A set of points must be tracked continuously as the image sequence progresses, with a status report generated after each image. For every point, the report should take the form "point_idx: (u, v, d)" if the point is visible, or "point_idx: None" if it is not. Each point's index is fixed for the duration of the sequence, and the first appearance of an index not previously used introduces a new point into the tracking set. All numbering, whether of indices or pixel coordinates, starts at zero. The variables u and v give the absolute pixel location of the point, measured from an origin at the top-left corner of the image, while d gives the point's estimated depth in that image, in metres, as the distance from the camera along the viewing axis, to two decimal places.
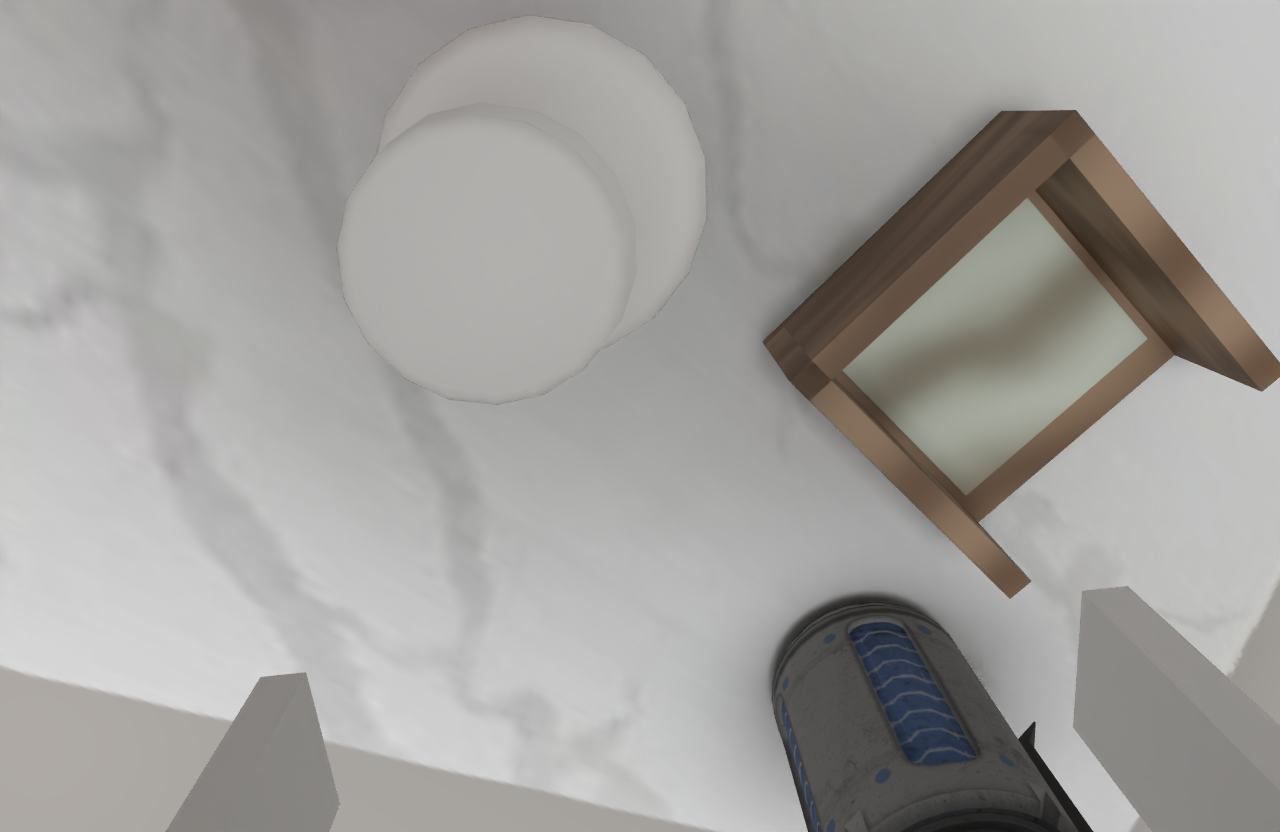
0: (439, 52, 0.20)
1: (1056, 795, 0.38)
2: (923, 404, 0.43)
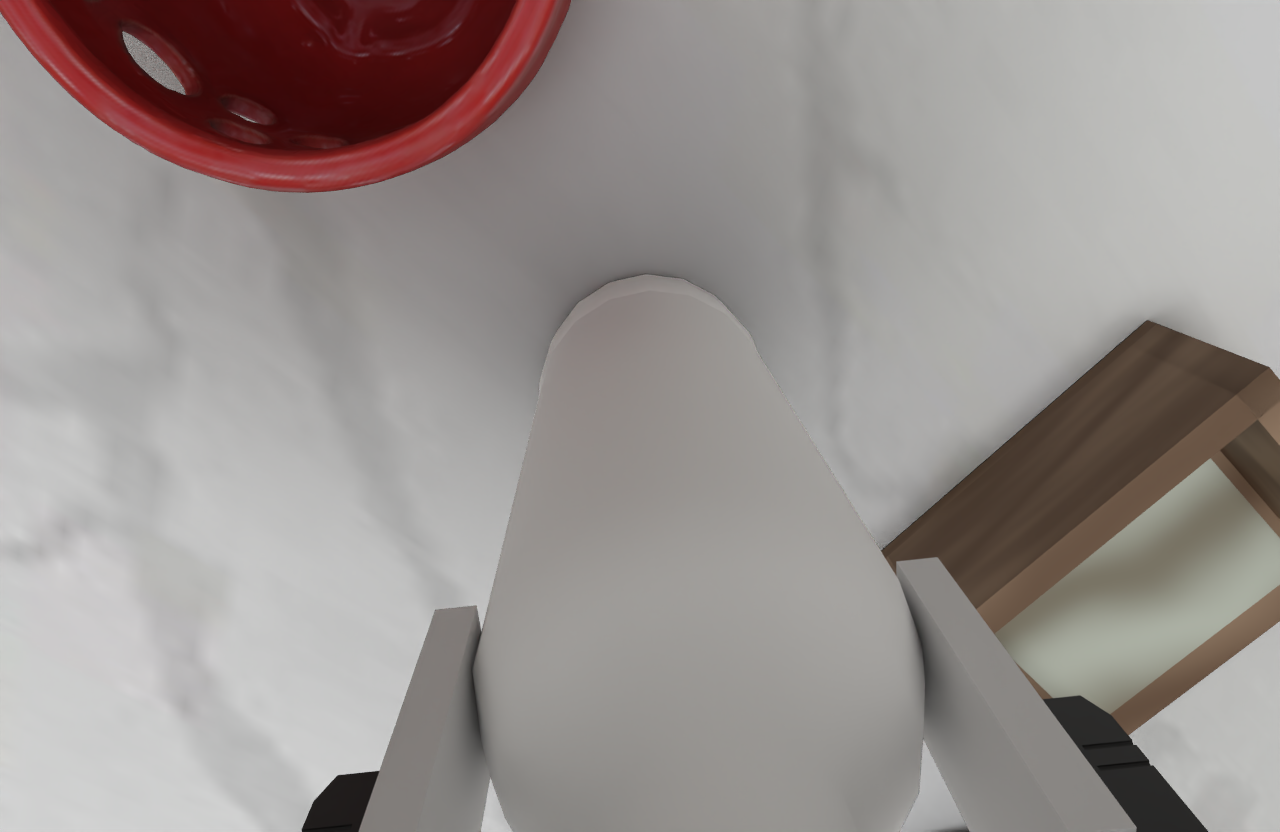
0: (571, 537, 0.14)
1: None
2: (1044, 637, 0.37)
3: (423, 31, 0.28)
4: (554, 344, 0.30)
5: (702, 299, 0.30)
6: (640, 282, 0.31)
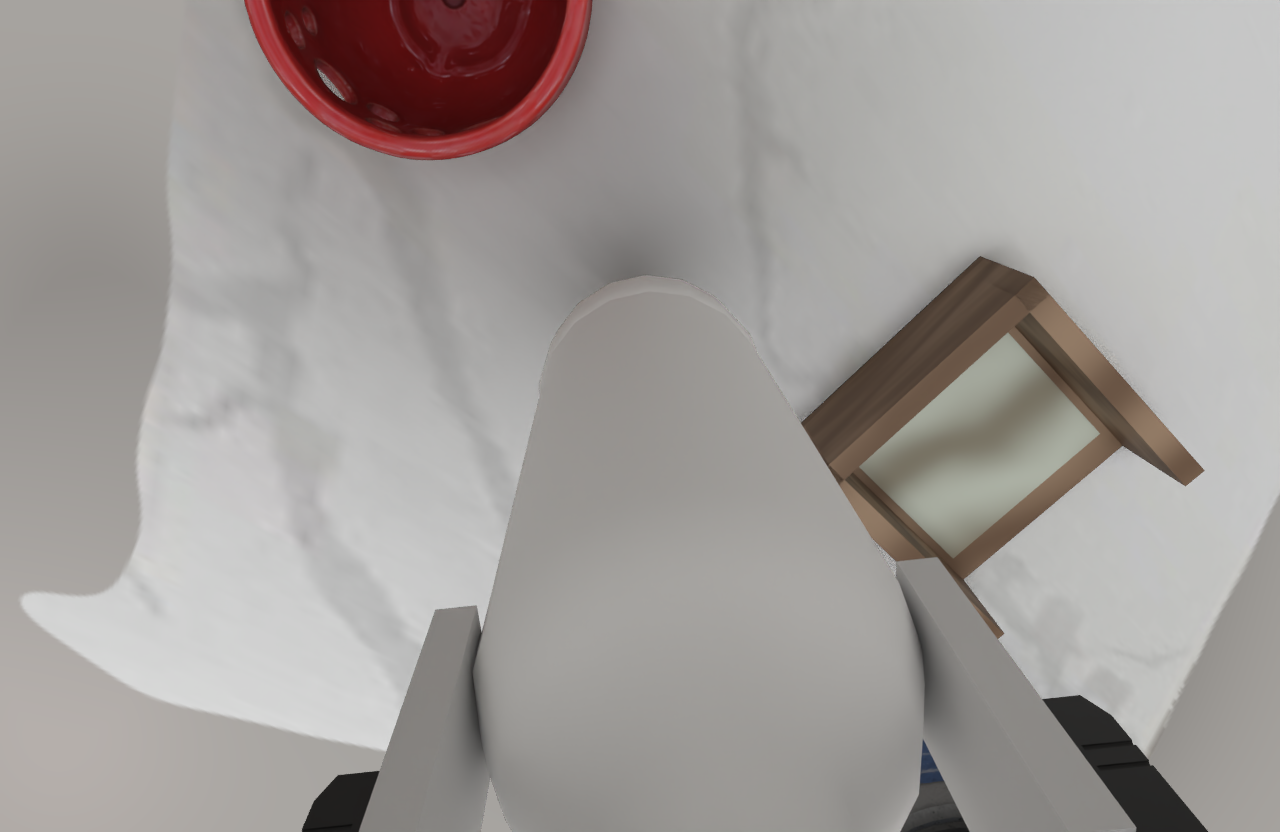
0: (571, 539, 0.14)
1: None
2: (917, 486, 0.52)
3: (485, 60, 0.44)
4: (554, 345, 0.30)
5: (703, 299, 0.30)
6: (640, 283, 0.31)
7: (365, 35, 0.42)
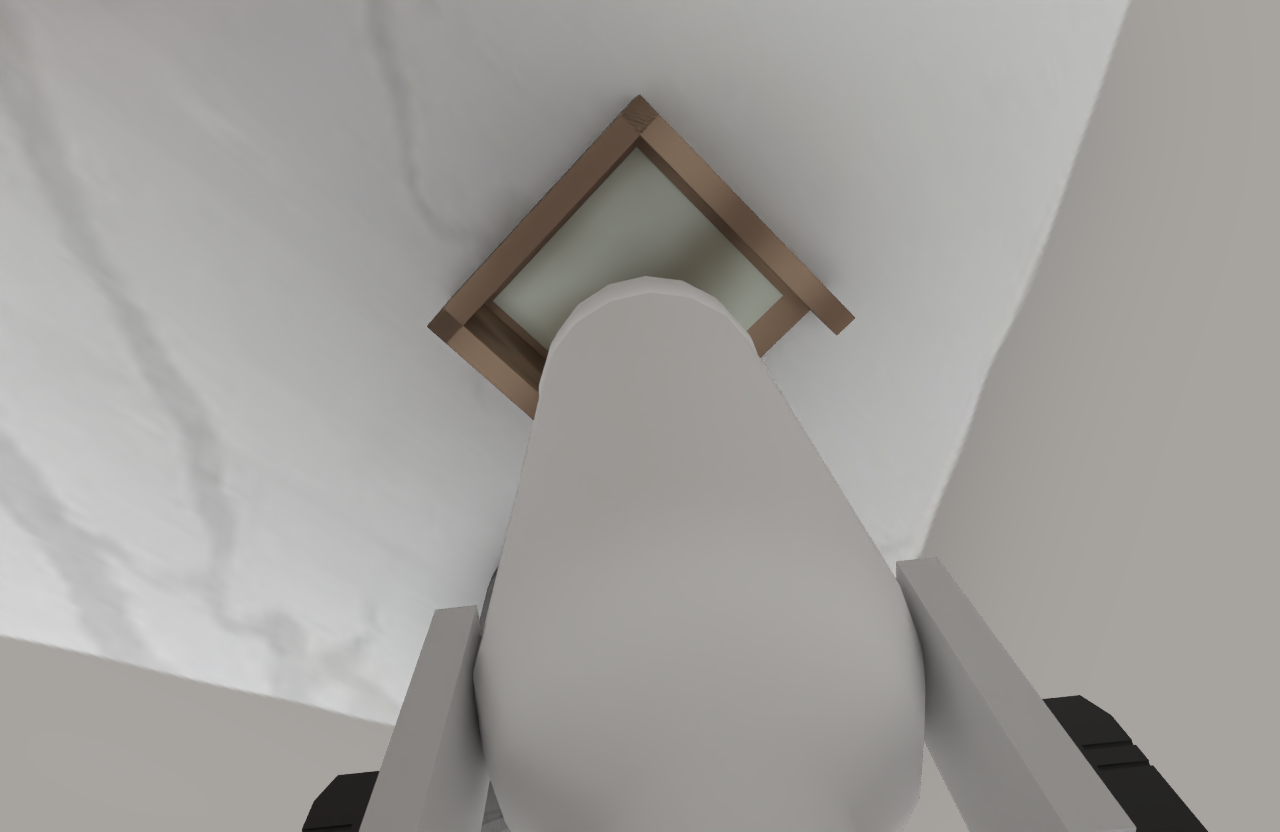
0: (572, 542, 0.14)
1: None
2: None
3: None
4: (554, 346, 0.30)
5: (703, 301, 0.30)
6: (640, 284, 0.31)
7: None
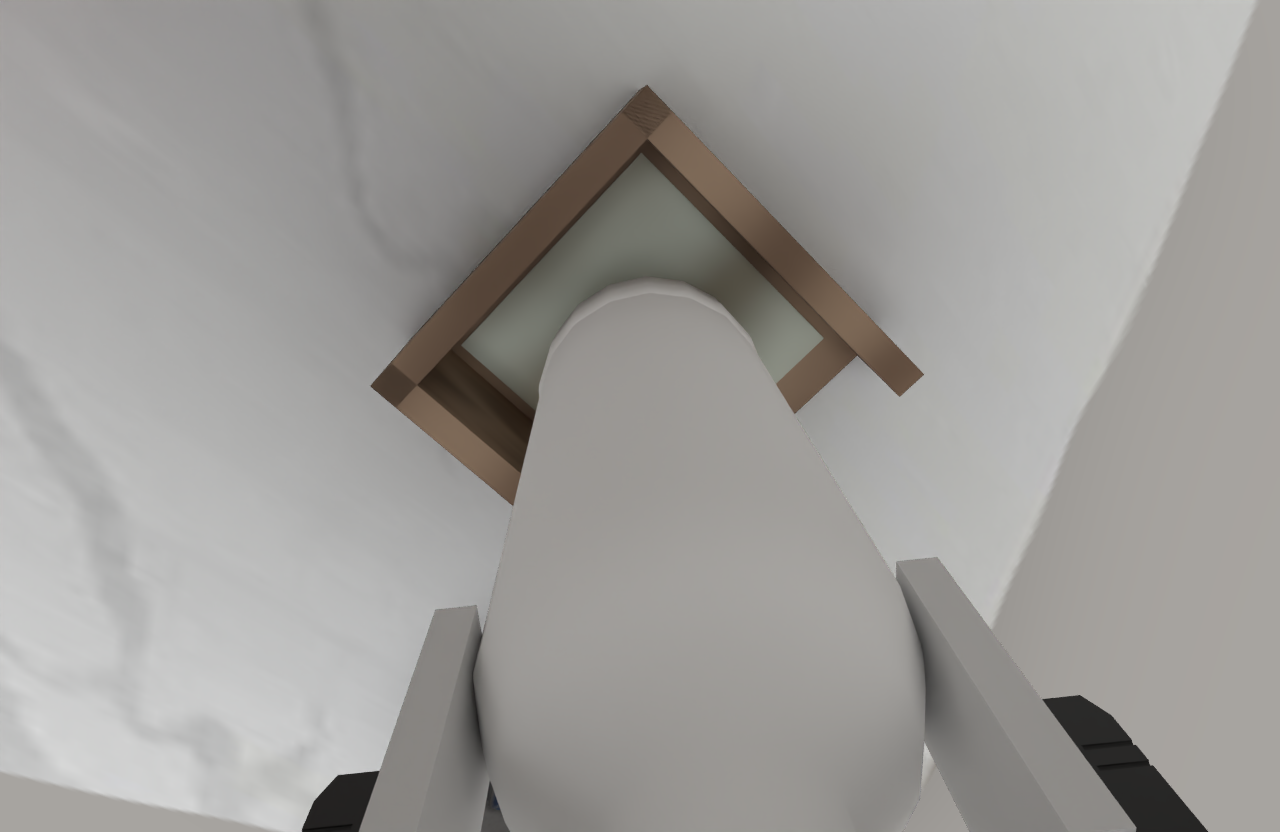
0: (572, 542, 0.14)
1: None
2: None
3: None
4: (554, 346, 0.30)
5: (702, 301, 0.30)
6: (640, 284, 0.31)
7: None
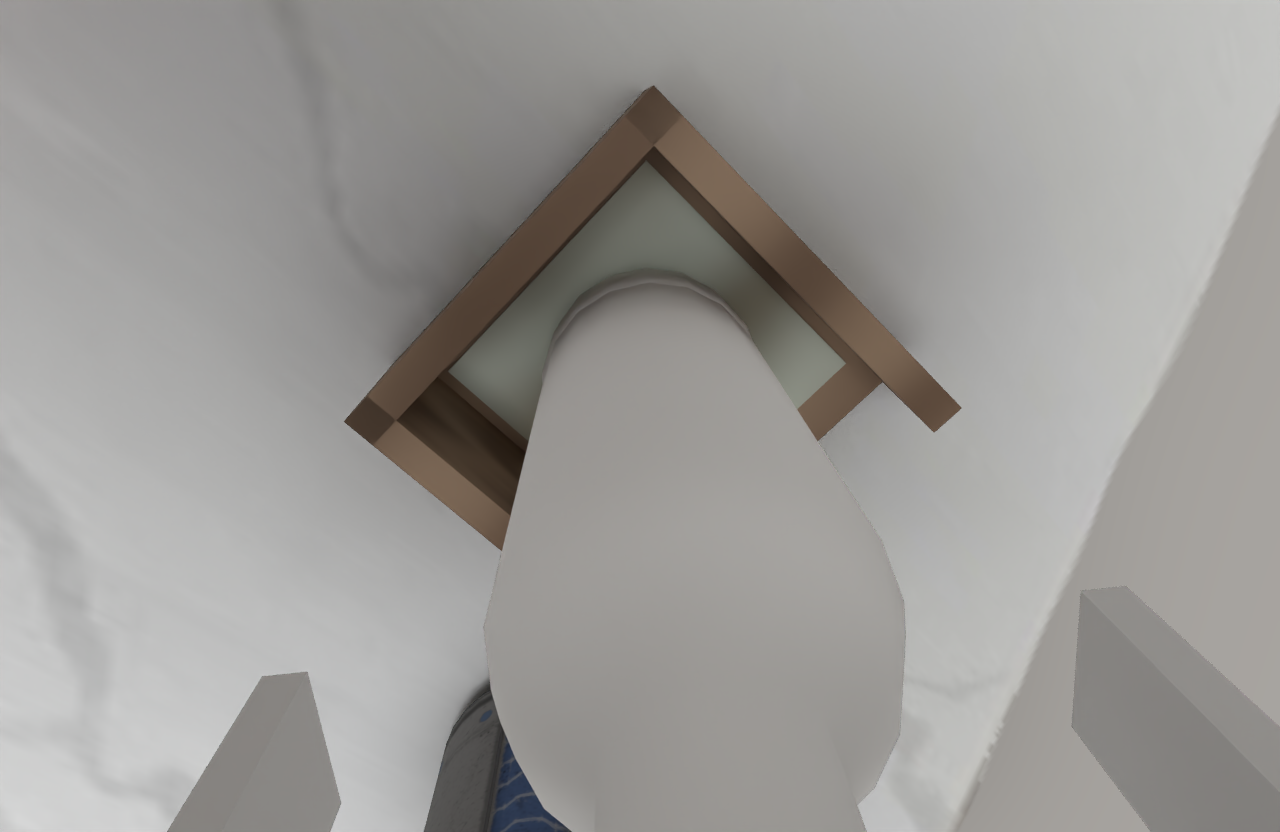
0: (576, 499, 0.15)
1: None
2: None
3: None
4: (557, 335, 0.31)
5: (700, 290, 0.31)
6: (639, 275, 0.32)
7: None
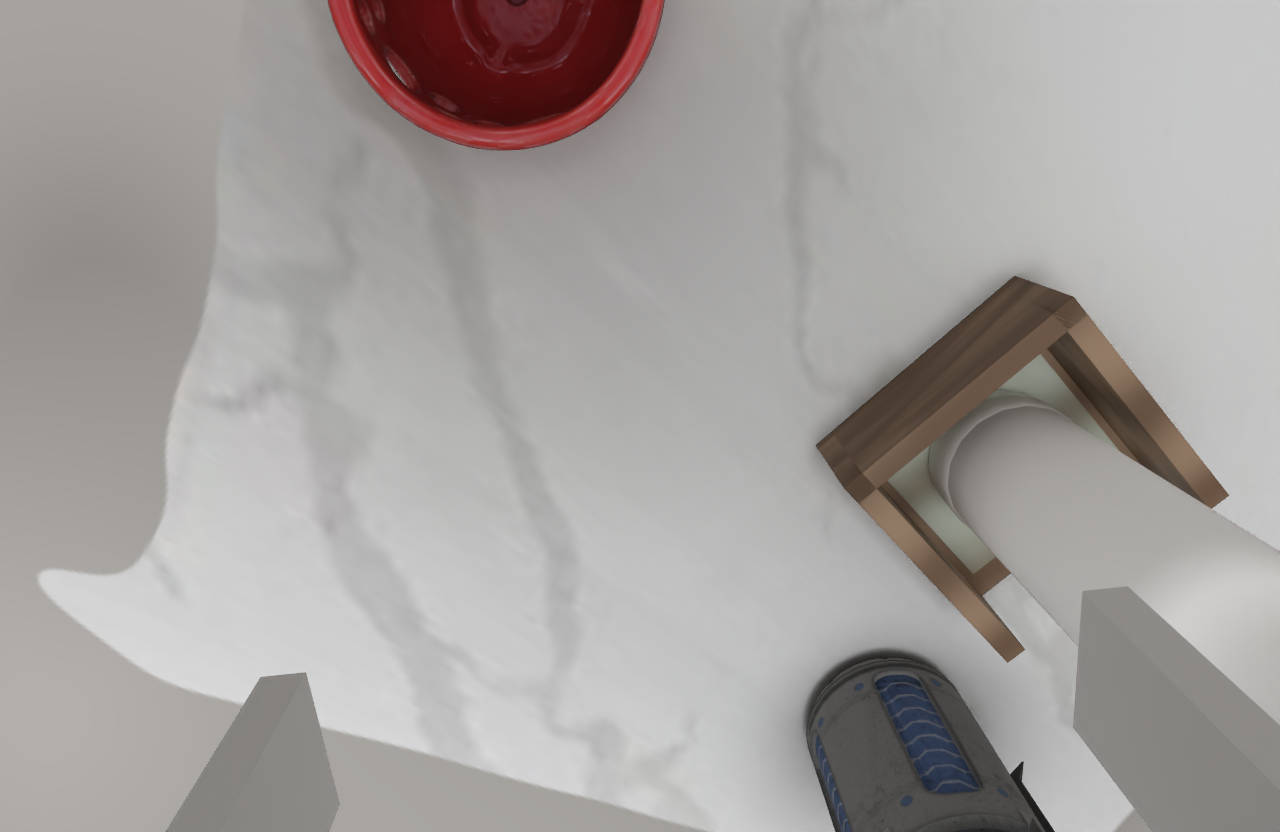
0: (1174, 557, 0.32)
1: (1039, 821, 0.48)
2: (942, 500, 0.53)
3: (543, 58, 0.44)
4: (962, 435, 0.48)
5: (1057, 411, 0.48)
6: (1013, 398, 0.49)
7: (428, 27, 0.42)
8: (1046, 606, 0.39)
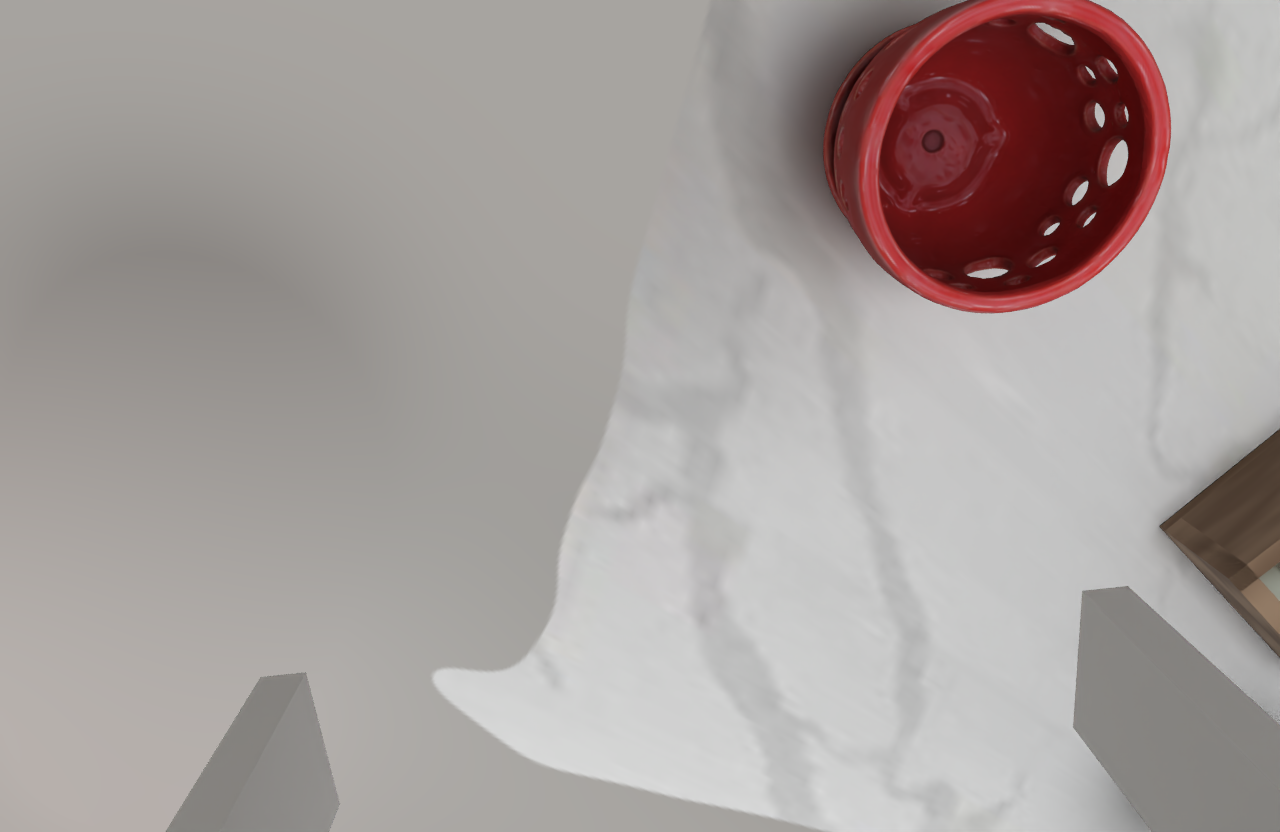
0: None
1: None
2: (1278, 572, 0.56)
3: (949, 197, 0.47)
4: None
5: None
6: None
7: None
8: None
